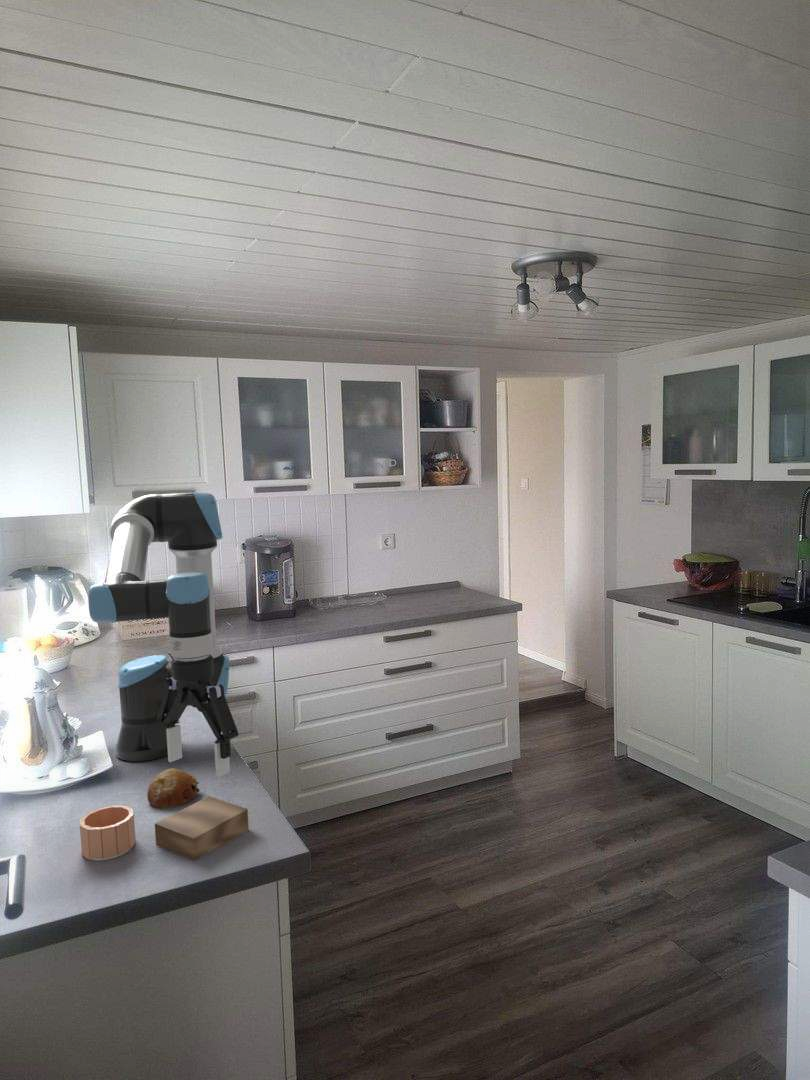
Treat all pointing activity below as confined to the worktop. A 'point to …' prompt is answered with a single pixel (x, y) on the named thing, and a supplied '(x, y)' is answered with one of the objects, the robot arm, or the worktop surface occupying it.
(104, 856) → the wooden tub
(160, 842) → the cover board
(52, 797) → the worktop surface
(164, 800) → the bread roll
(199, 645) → the robot arm
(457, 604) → the worktop surface
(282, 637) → the worktop surface
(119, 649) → the worktop surface
